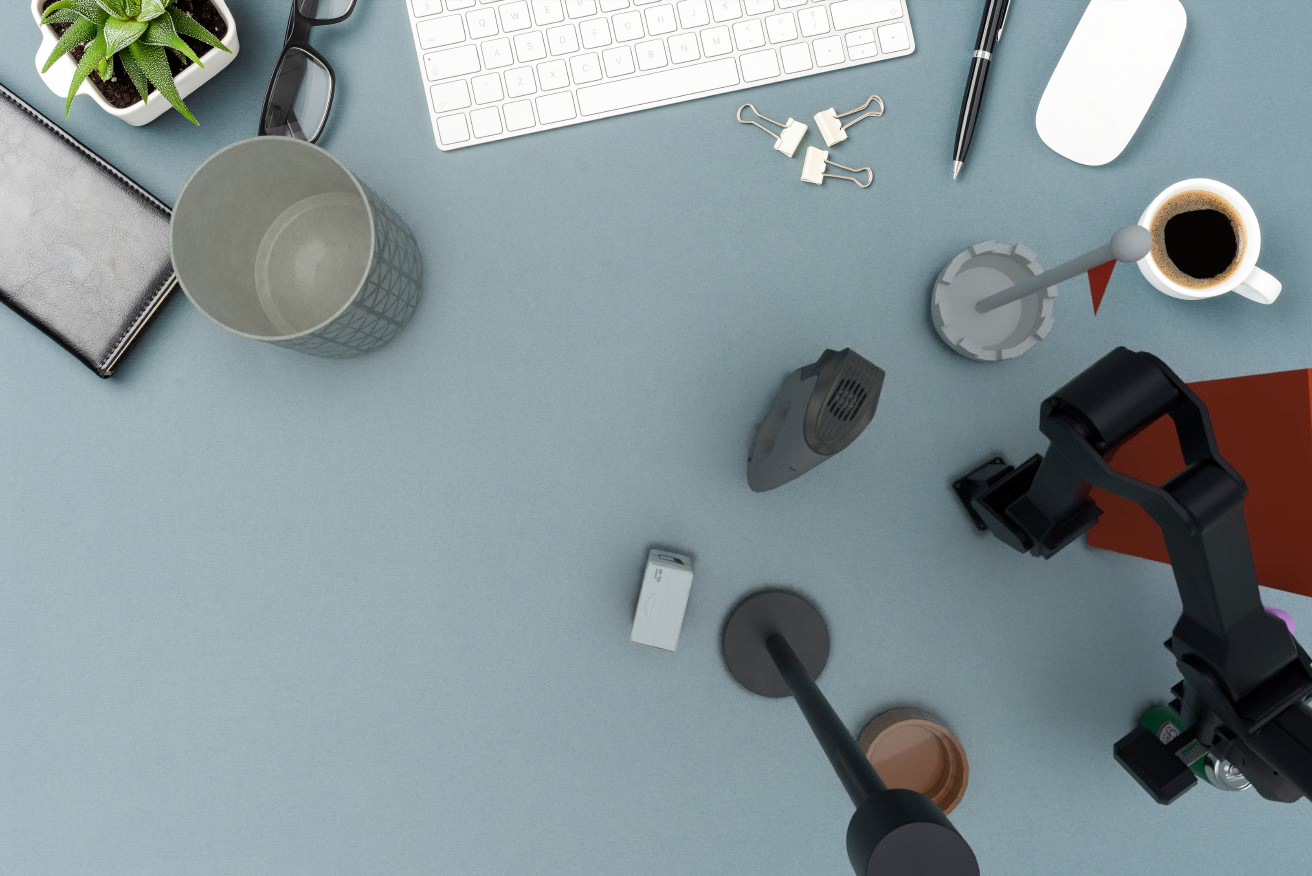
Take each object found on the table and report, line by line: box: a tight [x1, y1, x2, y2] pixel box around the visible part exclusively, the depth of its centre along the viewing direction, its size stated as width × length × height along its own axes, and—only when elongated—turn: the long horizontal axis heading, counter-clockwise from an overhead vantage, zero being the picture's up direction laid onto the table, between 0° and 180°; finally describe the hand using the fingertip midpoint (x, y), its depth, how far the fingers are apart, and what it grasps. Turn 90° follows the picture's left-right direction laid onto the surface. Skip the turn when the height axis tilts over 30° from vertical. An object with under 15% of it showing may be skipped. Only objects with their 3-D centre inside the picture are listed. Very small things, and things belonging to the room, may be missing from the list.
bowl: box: [856, 707, 970, 817], centre depth 87 cm, size 12×12×4 cm
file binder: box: [1086, 367, 1312, 598], centre depth 73 cm, size 8×17×32 cm, turn 3°
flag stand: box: [930, 224, 1153, 363], centre depth 74 cm, size 13×13×30 cm
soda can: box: [1139, 706, 1253, 793], centre depth 83 cm, size 5×5×12 cm
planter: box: [168, 135, 424, 360], centre depth 80 cm, size 19×19×18 cm
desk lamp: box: [722, 589, 981, 876], centre depth 64 cm, size 12×12×49 cm
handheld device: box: [746, 346, 886, 493], centre depth 77 cm, size 6×15×25 cm, turn 147°
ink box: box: [629, 548, 694, 653], centre depth 83 cm, size 9×5×12 cm, turn 167°
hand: (1206, 747), depth 80 cm, fingers open, 9 cm apart
